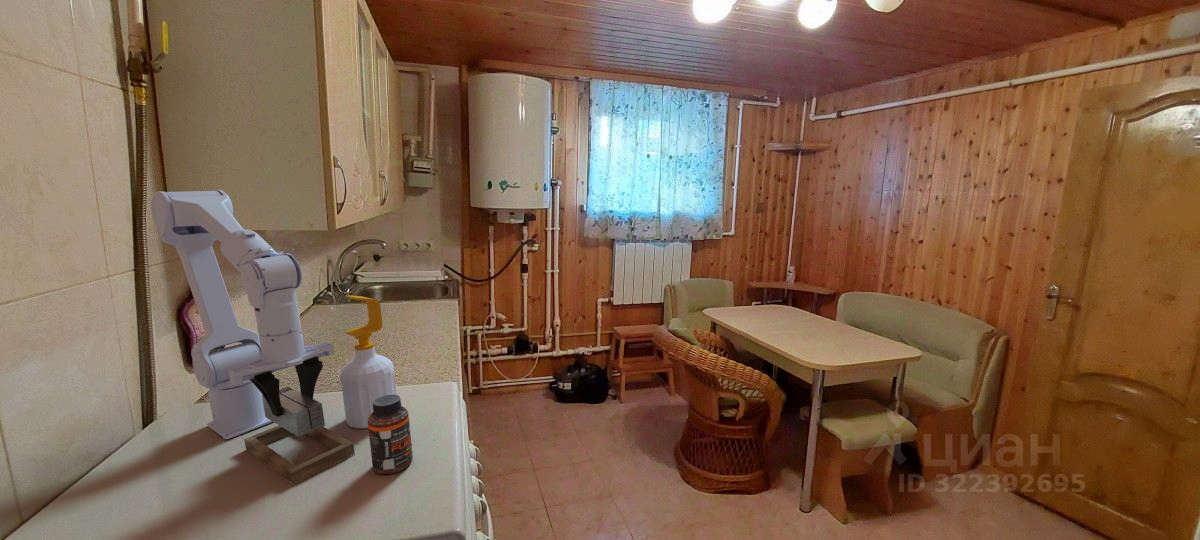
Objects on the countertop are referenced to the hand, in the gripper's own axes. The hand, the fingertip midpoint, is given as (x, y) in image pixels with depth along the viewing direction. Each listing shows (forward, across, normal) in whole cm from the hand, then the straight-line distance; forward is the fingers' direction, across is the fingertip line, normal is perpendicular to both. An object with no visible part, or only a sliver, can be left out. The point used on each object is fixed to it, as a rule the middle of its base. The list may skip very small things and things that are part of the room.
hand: (292, 408), depth 77 cm
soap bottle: (+8, +13, 0) cm, 16 cm away
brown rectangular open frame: (+8, 0, 0) cm, 8 cm away
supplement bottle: (+8, +6, -17) cm, 20 cm away
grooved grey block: (+2, 0, 0) cm, 2 cm away
